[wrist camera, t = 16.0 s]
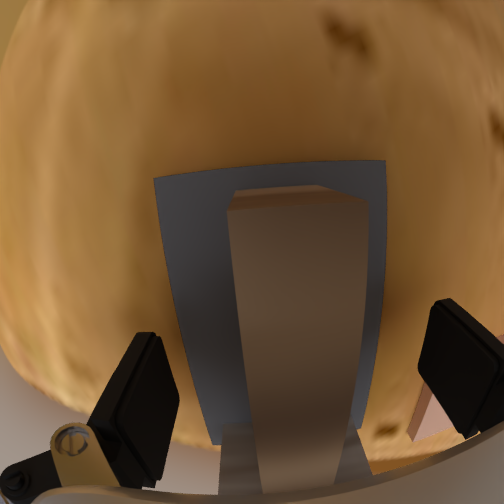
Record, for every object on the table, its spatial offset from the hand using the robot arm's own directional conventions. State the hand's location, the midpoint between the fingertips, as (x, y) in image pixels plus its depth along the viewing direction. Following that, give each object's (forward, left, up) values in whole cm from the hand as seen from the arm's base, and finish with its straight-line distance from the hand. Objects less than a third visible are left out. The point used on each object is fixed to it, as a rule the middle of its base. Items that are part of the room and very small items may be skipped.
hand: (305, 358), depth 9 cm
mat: (+1, 0, -4) cm, 4 cm away
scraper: (+1, 0, -3) cm, 3 cm away
